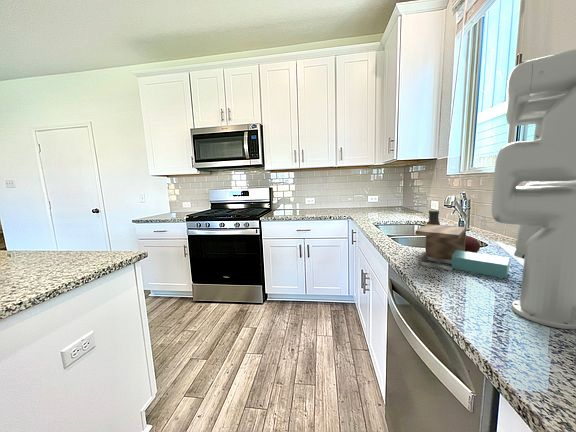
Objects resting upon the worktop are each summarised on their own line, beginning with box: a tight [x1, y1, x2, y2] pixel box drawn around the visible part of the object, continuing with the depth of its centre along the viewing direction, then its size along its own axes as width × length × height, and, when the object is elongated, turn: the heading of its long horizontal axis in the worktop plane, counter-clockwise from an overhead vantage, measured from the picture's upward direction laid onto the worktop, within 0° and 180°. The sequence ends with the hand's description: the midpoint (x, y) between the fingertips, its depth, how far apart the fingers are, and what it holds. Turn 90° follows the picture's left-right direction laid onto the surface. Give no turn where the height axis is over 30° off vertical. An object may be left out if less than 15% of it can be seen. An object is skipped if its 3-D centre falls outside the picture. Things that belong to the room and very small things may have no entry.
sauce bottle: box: [424, 209, 441, 250], centre depth 116 cm, size 6×6×20 cm
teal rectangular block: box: [451, 250, 511, 279], centre depth 93 cm, size 16×6×5 cm, turn 45°
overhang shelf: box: [414, 223, 467, 271], centre depth 101 cm, size 14×19×14 cm
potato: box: [465, 235, 481, 253], centre depth 114 cm, size 12×11×8 cm
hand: (534, 276), depth 83 cm, fingers closed
